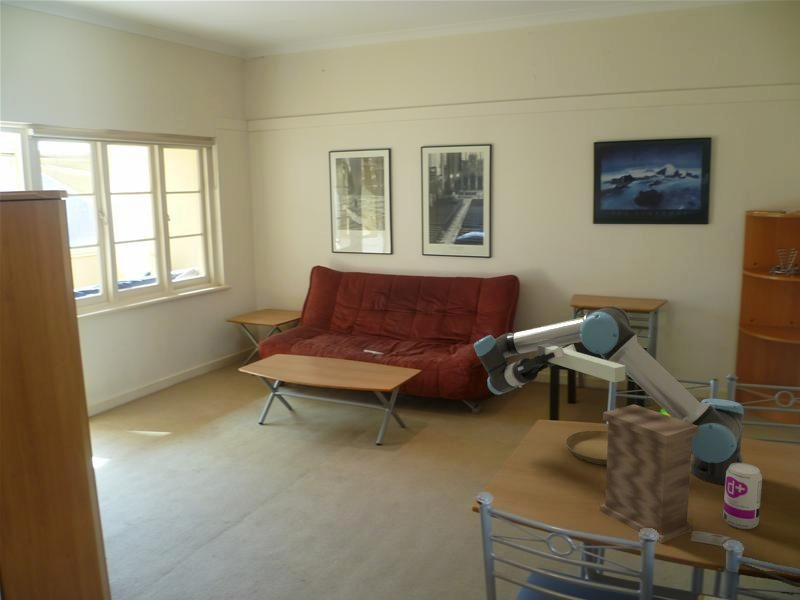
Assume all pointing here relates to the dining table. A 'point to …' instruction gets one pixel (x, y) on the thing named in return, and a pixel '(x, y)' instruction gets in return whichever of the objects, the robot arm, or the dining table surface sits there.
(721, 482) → the robot arm
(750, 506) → the supplement can
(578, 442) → the plant saucer
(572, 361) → the bar
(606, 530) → the dining table surface
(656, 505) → the stand
